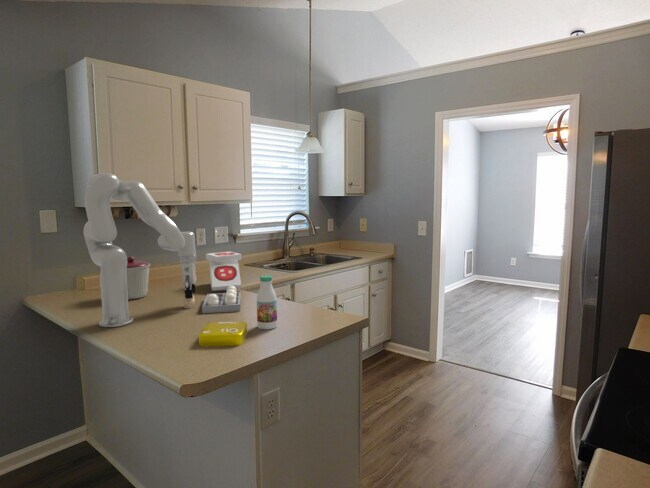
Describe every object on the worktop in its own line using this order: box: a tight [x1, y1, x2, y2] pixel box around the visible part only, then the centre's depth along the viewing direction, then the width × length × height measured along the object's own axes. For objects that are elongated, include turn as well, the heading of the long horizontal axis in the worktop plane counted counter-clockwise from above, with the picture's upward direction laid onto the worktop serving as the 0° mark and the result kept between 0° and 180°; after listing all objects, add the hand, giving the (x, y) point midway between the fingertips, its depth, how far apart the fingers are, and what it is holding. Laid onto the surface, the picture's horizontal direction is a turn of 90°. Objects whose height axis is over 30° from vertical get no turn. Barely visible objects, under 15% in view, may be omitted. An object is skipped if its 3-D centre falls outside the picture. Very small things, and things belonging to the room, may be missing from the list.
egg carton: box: [201, 286, 242, 314], centre depth 196 cm, size 24×16×7 cm
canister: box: [126, 255, 151, 300], centre depth 213 cm, size 18×18×21 cm
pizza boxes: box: [205, 251, 243, 291], centre depth 235 cm, size 19×30×18 cm, turn 17°
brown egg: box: [183, 294, 196, 310], centre depth 194 cm, size 5×5×6 cm
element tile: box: [198, 321, 248, 347], centre depth 151 cm, size 15×15×5 cm
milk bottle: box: [256, 275, 278, 330], centre depth 163 cm, size 8×8×20 cm
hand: (190, 295), depth 194 cm, fingers open, 9 cm apart
